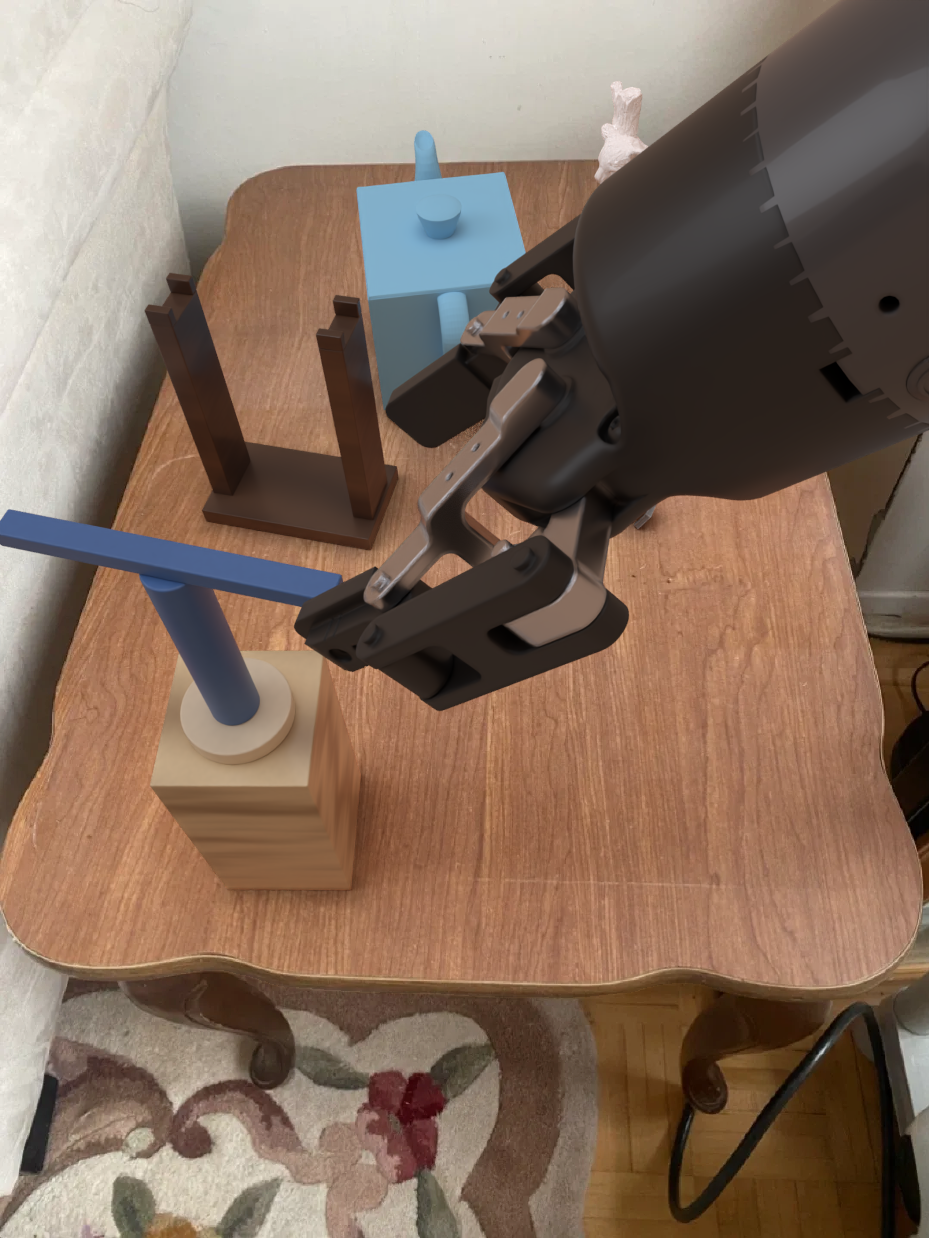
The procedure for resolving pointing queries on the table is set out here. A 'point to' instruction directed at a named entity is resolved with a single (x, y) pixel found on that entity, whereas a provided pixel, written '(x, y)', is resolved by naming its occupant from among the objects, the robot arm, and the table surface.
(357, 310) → the stand
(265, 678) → the bar
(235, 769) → the riser
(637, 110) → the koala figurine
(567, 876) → the table surface
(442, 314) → the teapot
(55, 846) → the table surface
